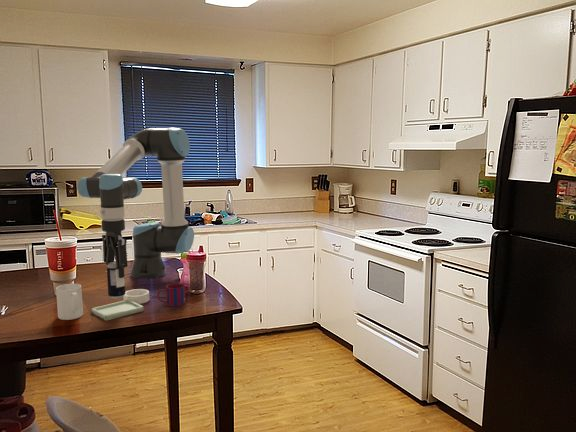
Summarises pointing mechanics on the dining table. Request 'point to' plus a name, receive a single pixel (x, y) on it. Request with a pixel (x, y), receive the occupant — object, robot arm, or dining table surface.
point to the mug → (69, 301)
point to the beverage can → (114, 282)
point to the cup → (174, 294)
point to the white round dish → (137, 296)
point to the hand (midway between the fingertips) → (116, 284)
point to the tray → (117, 309)
